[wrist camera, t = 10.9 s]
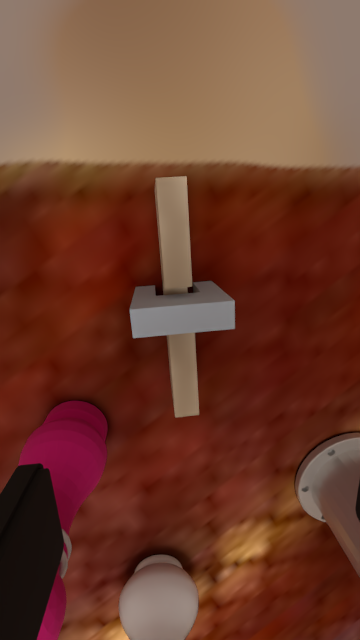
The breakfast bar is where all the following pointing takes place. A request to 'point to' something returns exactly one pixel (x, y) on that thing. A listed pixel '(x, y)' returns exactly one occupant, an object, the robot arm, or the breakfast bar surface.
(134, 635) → the flower vase
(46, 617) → the pepper mill
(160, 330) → the notched plate
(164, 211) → the beige notched bar
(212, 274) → the breakfast bar surface
